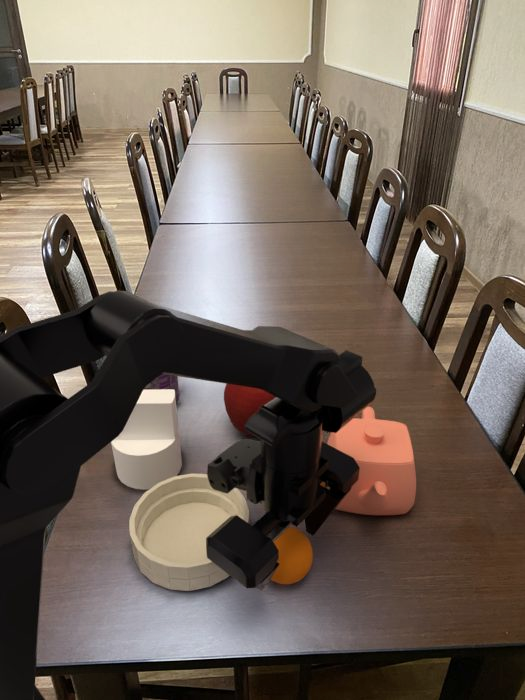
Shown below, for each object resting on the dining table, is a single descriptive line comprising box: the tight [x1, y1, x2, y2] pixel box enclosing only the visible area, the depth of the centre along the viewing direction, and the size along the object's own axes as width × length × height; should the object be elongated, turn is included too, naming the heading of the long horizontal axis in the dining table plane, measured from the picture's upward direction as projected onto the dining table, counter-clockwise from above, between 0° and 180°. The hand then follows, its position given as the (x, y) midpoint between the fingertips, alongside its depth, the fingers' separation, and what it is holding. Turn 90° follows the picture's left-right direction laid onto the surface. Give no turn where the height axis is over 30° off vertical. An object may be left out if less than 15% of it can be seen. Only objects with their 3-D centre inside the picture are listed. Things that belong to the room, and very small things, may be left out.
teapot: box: [326, 406, 417, 516], centre depth 68 cm, size 12×18×10 cm, turn 175°
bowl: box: [128, 472, 251, 592], centre depth 63 cm, size 14×14×4 cm
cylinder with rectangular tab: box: [110, 389, 183, 490], centre depth 72 cm, size 9×9×12 cm
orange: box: [270, 525, 314, 585], centre depth 59 cm, size 6×6×6 cm
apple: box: [223, 383, 275, 437], centre depth 80 cm, size 10×10×10 cm
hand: (286, 558), depth 60 cm, fingers open, 9 cm apart
